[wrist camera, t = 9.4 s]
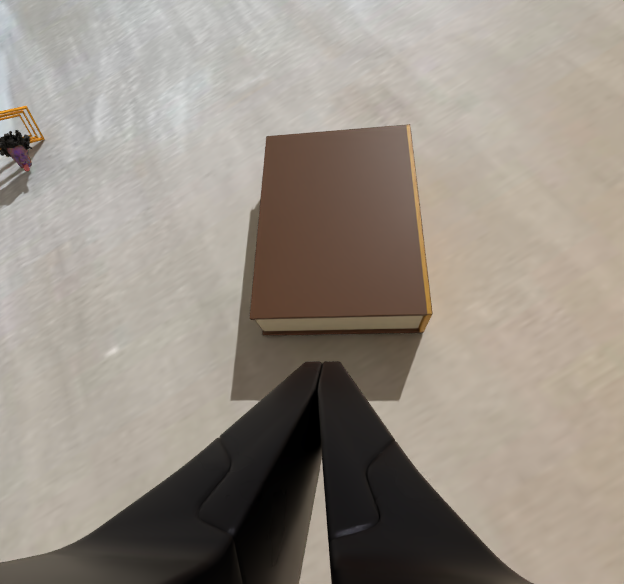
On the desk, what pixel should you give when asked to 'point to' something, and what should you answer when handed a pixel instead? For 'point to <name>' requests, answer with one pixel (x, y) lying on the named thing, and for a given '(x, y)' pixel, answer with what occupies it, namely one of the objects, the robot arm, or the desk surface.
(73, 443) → the desk surface
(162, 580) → the robot arm
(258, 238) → the book
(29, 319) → the desk surface
